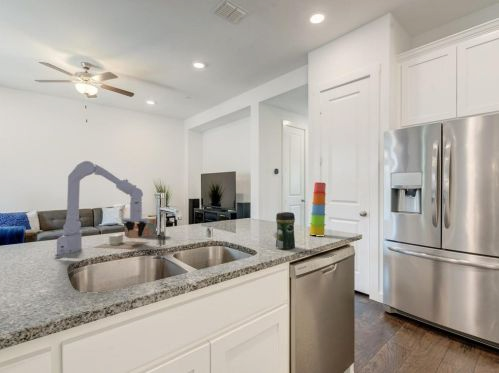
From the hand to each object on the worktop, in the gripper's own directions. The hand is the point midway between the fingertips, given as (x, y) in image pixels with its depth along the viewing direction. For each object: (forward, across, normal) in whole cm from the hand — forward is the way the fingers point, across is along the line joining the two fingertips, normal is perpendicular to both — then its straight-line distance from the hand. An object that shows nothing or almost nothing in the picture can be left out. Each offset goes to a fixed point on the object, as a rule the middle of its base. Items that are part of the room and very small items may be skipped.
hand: (135, 236), depth 134 cm
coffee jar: (+5, -79, -10) cm, 79 cm away
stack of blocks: (+5, +8, -21) cm, 23 cm away
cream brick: (+4, +10, +1) cm, 11 cm away
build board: (+5, +5, +4) cm, 8 cm away
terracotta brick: (+1, 0, 0) cm, 1 cm away
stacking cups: (+5, -99, -47) cm, 109 cm away
